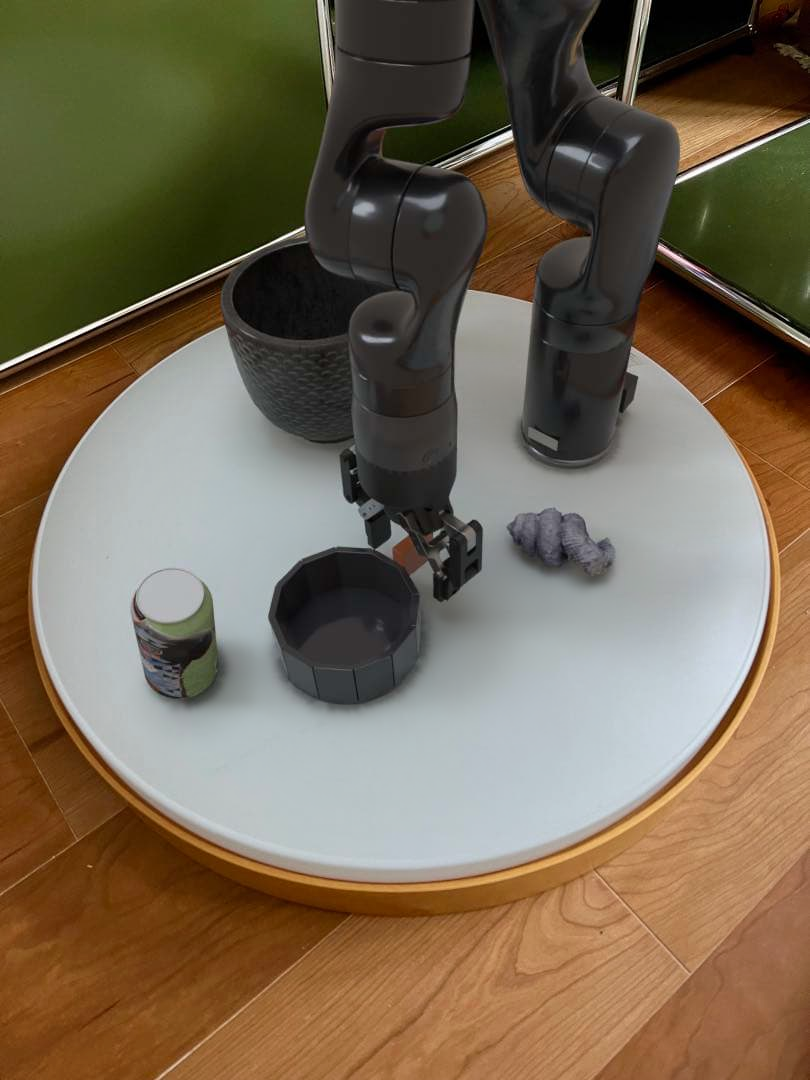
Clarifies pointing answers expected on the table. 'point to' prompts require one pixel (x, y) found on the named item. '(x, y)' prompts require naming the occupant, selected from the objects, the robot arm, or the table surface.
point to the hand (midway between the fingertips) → (411, 567)
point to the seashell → (560, 540)
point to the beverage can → (175, 632)
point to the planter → (294, 338)
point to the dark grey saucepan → (349, 621)
